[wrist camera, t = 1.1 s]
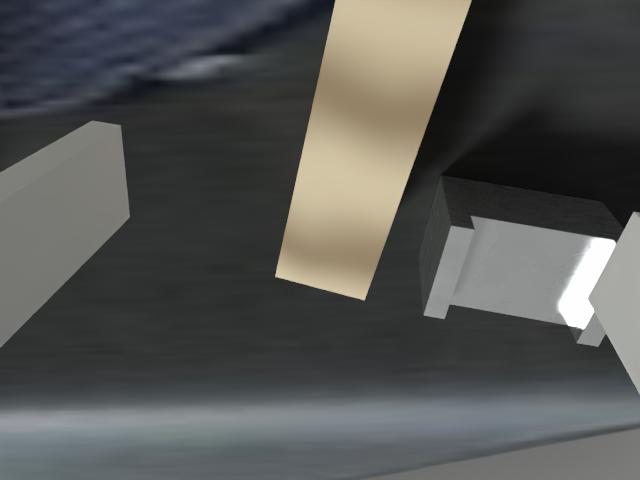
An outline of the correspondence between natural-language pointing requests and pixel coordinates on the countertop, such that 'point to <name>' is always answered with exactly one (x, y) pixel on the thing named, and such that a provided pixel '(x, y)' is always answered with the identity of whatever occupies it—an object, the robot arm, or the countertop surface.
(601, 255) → the block
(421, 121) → the rail
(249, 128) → the countertop surface
